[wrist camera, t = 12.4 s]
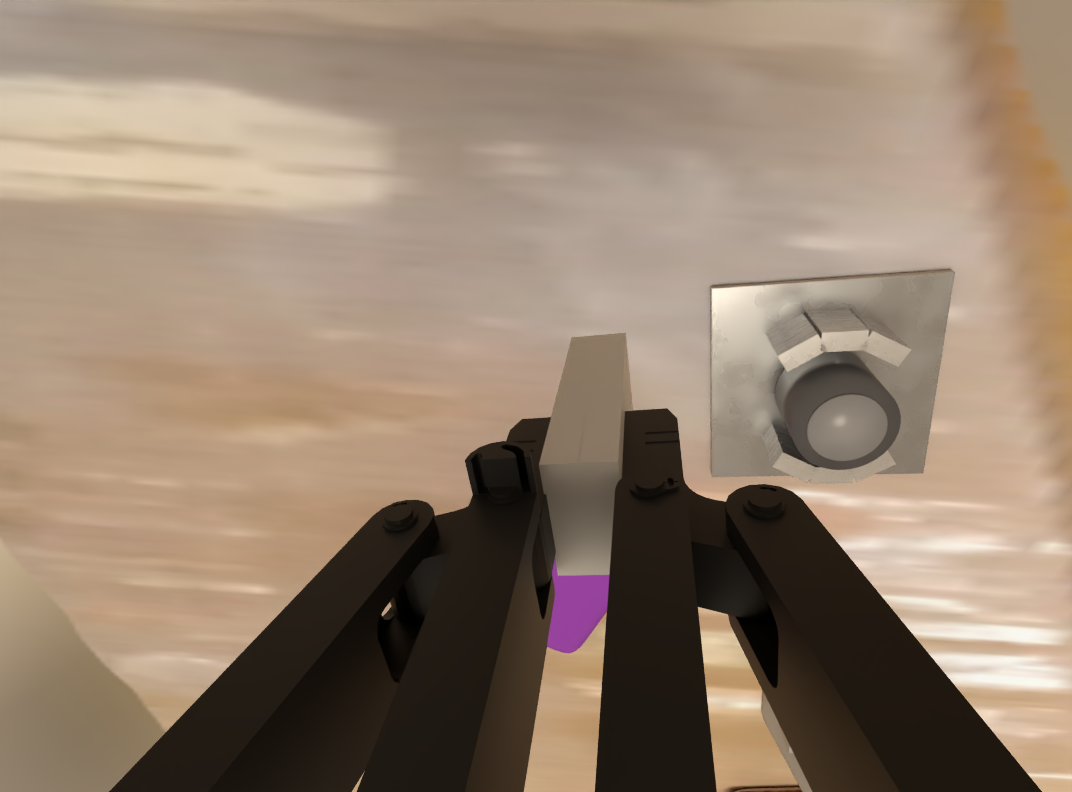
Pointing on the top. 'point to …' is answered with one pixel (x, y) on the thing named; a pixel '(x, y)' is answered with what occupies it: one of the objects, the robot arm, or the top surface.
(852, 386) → the dark grey cylinder
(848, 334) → the grey square plate
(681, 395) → the top surface
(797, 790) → the cine camera
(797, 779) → the electrical switch
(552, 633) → the toy camera
